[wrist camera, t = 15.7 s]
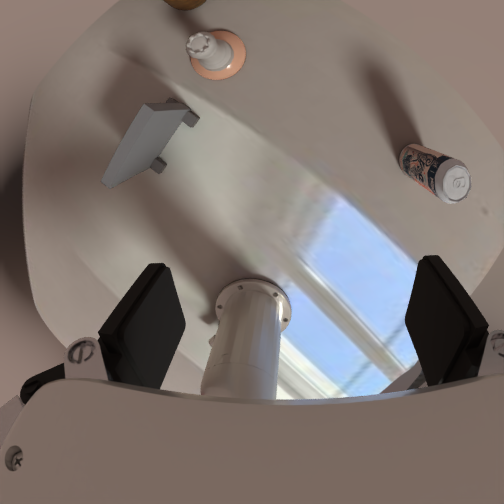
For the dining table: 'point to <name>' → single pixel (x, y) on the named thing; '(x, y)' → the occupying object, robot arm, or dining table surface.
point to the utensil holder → (185, 4)
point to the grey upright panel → (147, 140)
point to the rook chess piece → (210, 51)
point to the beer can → (436, 172)
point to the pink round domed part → (235, 64)
